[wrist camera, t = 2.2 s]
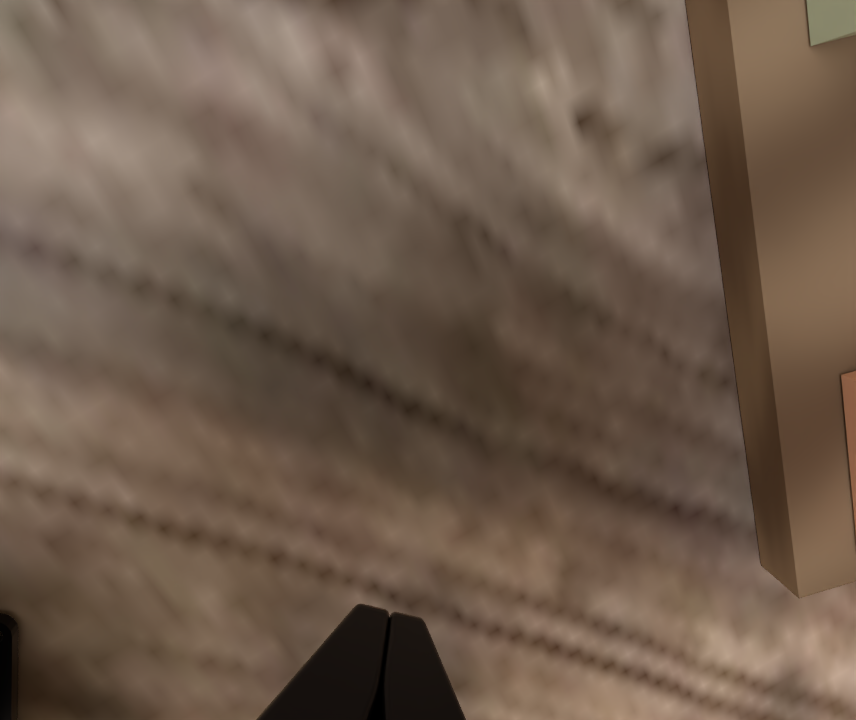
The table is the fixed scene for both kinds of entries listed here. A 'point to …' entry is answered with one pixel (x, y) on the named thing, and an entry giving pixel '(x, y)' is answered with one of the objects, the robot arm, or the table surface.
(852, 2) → the sage block
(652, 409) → the table surface
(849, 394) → the terracotta block
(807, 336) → the studded brown plank
